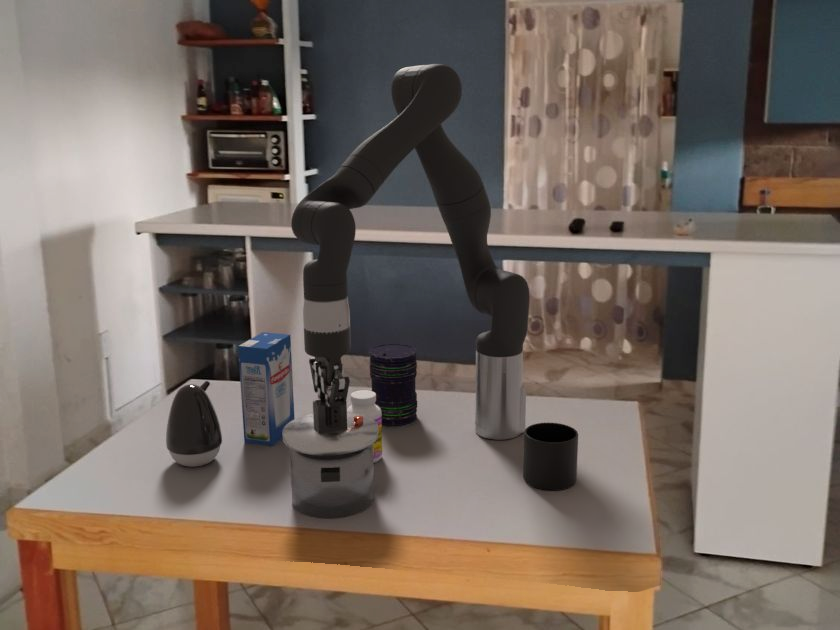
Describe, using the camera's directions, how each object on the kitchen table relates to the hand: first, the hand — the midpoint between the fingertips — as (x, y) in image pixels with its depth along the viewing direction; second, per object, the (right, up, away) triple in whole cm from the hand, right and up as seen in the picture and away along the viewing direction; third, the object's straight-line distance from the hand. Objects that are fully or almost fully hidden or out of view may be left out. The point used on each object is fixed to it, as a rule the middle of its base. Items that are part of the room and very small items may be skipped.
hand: (330, 423), depth 148 cm
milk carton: (-15, -6, +31) cm, 35 cm away
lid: (0, -2, +1) cm, 2 cm away
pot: (0, -13, +4) cm, 14 cm away
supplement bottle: (+5, -9, +20) cm, 22 cm away
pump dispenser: (-27, -10, +19) cm, 35 cm away
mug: (+38, -11, +11) cm, 42 cm away
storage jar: (+9, -4, +39) cm, 40 cm away
